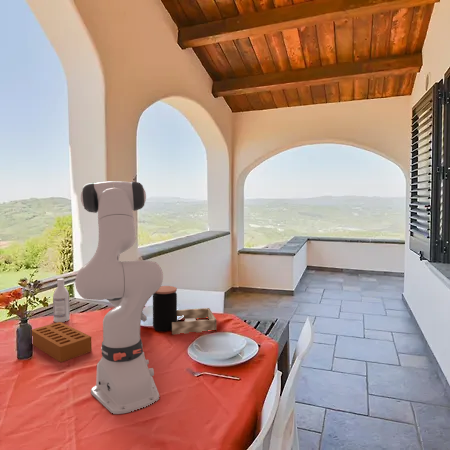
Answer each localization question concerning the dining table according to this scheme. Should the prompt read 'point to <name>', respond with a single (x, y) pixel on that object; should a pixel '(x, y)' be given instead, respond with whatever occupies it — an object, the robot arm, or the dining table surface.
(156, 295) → the coffee jar
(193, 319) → the tile cream
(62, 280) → the bath foam
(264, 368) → the dining table surface
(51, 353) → the brick
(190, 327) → the tray
